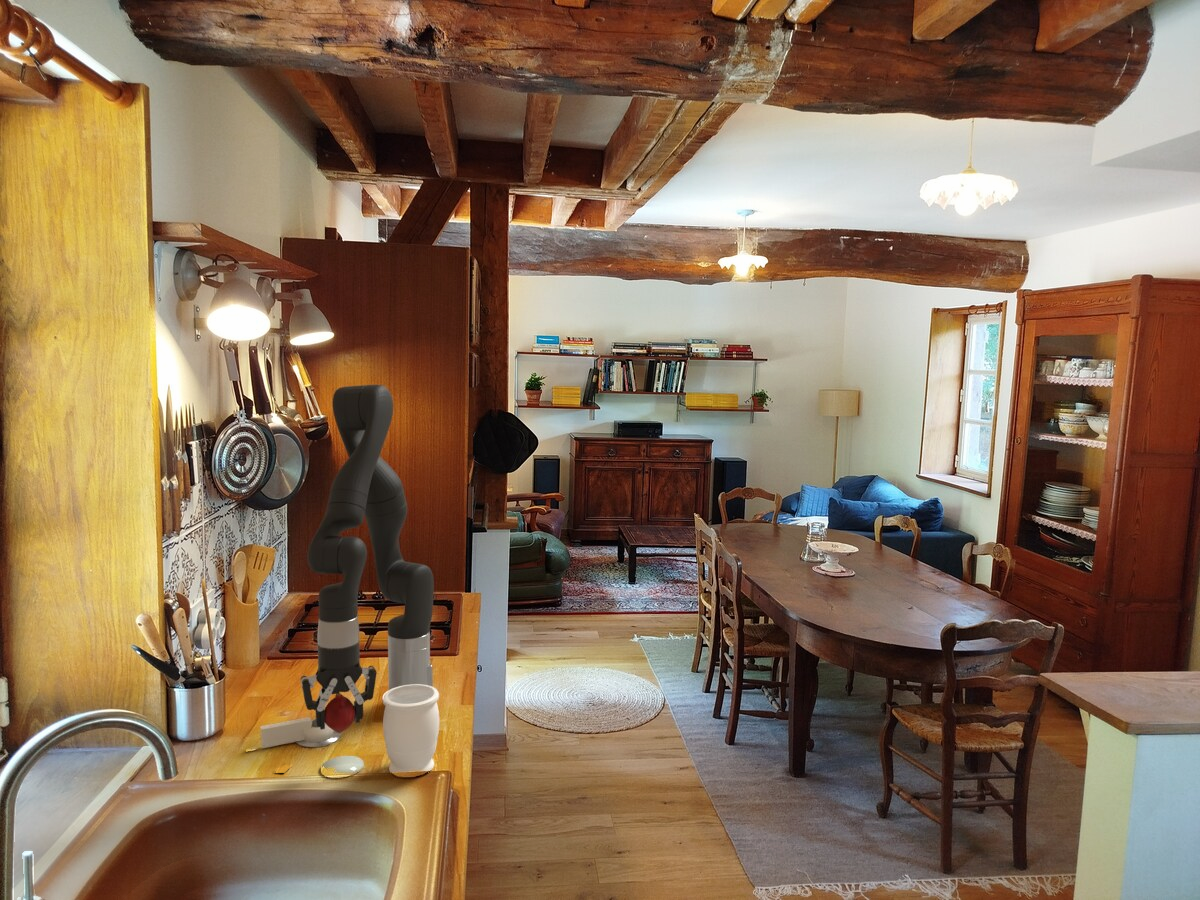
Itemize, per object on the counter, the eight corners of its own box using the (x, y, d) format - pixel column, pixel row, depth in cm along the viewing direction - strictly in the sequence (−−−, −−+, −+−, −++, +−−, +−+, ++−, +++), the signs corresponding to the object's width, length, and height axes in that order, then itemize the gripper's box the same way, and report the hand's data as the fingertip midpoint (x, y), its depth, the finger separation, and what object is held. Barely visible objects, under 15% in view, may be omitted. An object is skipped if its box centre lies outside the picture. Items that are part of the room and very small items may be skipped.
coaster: (358, 754, 160) (358, 752, 160) (367, 772, 153) (367, 770, 153) (317, 763, 156) (317, 761, 156) (324, 782, 149) (324, 780, 149)
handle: (330, 726, 171) (330, 708, 170) (336, 738, 166) (335, 720, 165) (260, 740, 164) (259, 721, 164) (263, 753, 159) (262, 734, 159)
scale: (336, 724, 173) (336, 722, 173) (352, 759, 158) (352, 757, 158) (243, 742, 164) (243, 740, 164) (251, 781, 149) (251, 779, 149)
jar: (395, 788, 148) (394, 710, 146) (375, 764, 156) (374, 691, 154) (448, 771, 154) (448, 697, 152) (426, 749, 162) (425, 679, 161)
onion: (359, 725, 157) (358, 686, 156) (351, 739, 151) (350, 698, 150) (329, 725, 157) (328, 686, 156) (319, 739, 151) (319, 698, 150)
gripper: (301, 651, 145) (303, 740, 147) (381, 640, 152) (382, 725, 154) (295, 639, 152) (297, 723, 154) (372, 628, 158) (373, 710, 160)
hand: (339, 724), depth 154 cm, fingers closed on onion, 6 cm apart
